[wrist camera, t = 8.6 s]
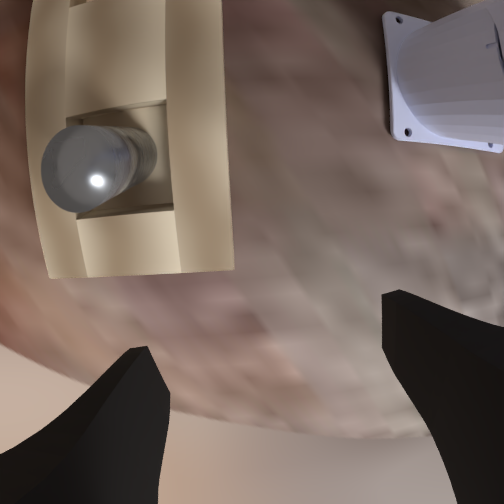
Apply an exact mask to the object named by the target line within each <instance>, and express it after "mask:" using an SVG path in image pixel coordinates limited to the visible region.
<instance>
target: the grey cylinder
mask: <svg viewBox="0 0 504 504" xmlns="http://www.w3.org/2000/svg"><path fill="white" fill-rule="evenodd" d="M156 163H157V148H156V145H155V142H154V140H153V139H152V137H151V136H150V135H149V134H148V133H147V132H145V131H144V130H142V129H139V128H135V127H120V126H93V125H75V126H70V127H67V128H65V129H63V130H61V131H59V132H58V133H57V134H56V135H55V136H54V137H53V138H52V139H51V140H50V142H49V143H48V145H47V147H46V148H45V151H44V153H43V157H42V162H41V178H42V183H43V186H44V189H45V191H46V193H47V195H48V196H49V198H50V199H51V200H52V201H53V202H54V203H55V204H56V205H57V206H58V207H60V208H61V209H63V210H65V211H68V212H73V213H82V212H86V211H89V210H91V209H93V208H95V207H97V206H99V205H101V204H102V203H104V202H106V201H108V200H109V199H111V198H113V197H115V196H117V195H119V194H120V193H122V192H124V191H126V190H128V189H130V188H132V187H133V186H135V185H137V184H139V183H141V182H143V181H144V180H146V179H147V178H148V177H149V176H150V175H151V173H152V172H153V170H154V168H155V166H156Z"/></svg>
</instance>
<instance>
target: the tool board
mask: <svg viewBox="0 0 504 504" xmlns="http://www.w3.org/2000/svg"><path fill="white" fill-rule="evenodd" d="M25 115H26V137H27V151H28V163H29V172H30V181H31V188H32V195H33V202H34V208H35V214H36V220H37V225H38V231H39V236H40V240H41V245H42V250H43V254H44V258H45V263H46V267H47V271H48V275H49V278H50V279H59V278H84V277H108V276H130V275H150V274H170V273H189V272H207V271H224V270H234V244H233V228H232V212H231V194H230V177H229V158H228V138H227V118H226V96H225V72H224V46H223V17H222V0H33V4H32V10H31V18H30V25H29V34H28V45H27V58H26V80H25ZM75 125H93V126H120V127H135V128H139V129H142V130H144V131H145V132H147V133H148V134H149V135H150V136H151V137H152V139H153V140H154V142H155V145H156V148H157V163H156V166H155V168H154V170H153V172H152V173H151V175H150V176H149V177H148V178H147V179H146V180H144V181H143V182H141V183H139V184H137V185H135V186H133V187H132V188H130V189H128V190H126V191H124V192H122V193H120V194H119V195H117V196H115V197H113V198H111V199H109V200H108V201H106V202H104V203H102V204H101V205H99V206H97V207H95V208H93V209H91V210H89V211H86V212H82V213H73V212H68V211H65V210H63V209H61V208H60V207H58V206H57V205H56V204H55V203H54V202H53V201H52V200H51V199H50V198H49V196H48V195H47V193H46V191H45V189H44V186H43V183H42V178H41V162H42V157H43V153H44V151H45V148H46V147H47V145H48V143H49V142H50V140H51V139H52V138H53V137H54V136H55V135H56V134H57V133H58V132H59V131H61V130H63V129H65V128H67V127H70V126H75Z"/></svg>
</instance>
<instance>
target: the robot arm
mask: <svg viewBox="0 0 504 504" xmlns="http://www.w3.org/2000/svg"><path fill="white" fill-rule="evenodd" d="M396 18H397V19H399V21H400V24H399V23H398V22H397V21H396ZM382 22H383V30H384V38H385V47H386V57H387V68H388V82H389V99H390V130H391V135H392V137H393V138H394V139H396V140H401V141H413V142H423V143H433V144H441V145H450V146H457V147H464V148H471V149H478V150H484V151H490V152H496V153H501V152H502V151H503V147H504V0H484V1H482V2H479V3H477V4H474V5H472V6H469V7H467V8H464V9H462V10H459V11H457V12H455V13H452V14H450V15H448V16H445V17H443V18H441V19H439V20H436V21H434V22H430V21H426V20H423V19H419V18H416V17H412V16H408V15H404V14H400V13H395V12H391V11H388V12H385V13H384V14H383V15H382ZM406 128H407V129H408V131H409V134H408V136H406V135H405V133H404V131H405V129H406ZM488 143H489V146H488ZM382 349H383V351H384V353H385V355H386V358H387V360H388V362H389V364H390V366H391V368H392V370H393V372H394V374H395V376H396V377H397V379H398V380H399V382H400V384H401V385H402V387H403V388H404V390H405V391H406V393H407V395H408V396H409V398H410V399H411V401H412V402H413V404H414V405H415V407H416V409H417V410H418V412H419V413H420V415H421V417H422V418H423V420H424V421H425V423H426V425H427V427H428V429H429V430H430V432H431V434H432V436H433V439H434V441H435V443H436V446H437V448H438V450H439V452H440V455H441V457H442V460H443V462H444V465H445V468H446V470H447V473H448V476H449V478H450V481H451V484H452V488H453V491H454V494H455V497H456V501H457V504H504V327H501V326H497V325H493V324H490V323H486V322H483V321H480V320H477V319H474V318H471V317H469V316H466V315H463V314H460V313H458V312H455V311H453V310H450V309H448V308H445V307H443V306H440V305H438V304H435V303H433V302H431V301H428V300H426V299H423V298H421V297H419V296H416V295H414V294H411V293H408V292H406V291H403V290H396V291H392V292H389V293H385V294H382ZM169 414H170V392H169V390H168V388H167V386H166V384H165V382H164V380H163V378H162V376H161V374H160V372H159V370H158V368H157V366H156V363H155V361H154V359H153V357H152V355H151V353H150V351H149V348H148V346H143V347H136V348H130V349H129V350H128V351H126V352H125V353H124V354H123V355H122V356H121V357H120V358H119V359H118V360H117V361H116V362H115V363H114V364H113V365H112V366H111V367H110V368H109V369H108V370H107V371H106V372H105V373H104V374H103V375H102V376H101V377H100V378H99V379H98V380H97V381H96V382H95V383H94V384H93V385H92V386H91V387H90V388H89V389H88V390H87V391H86V392H85V393H84V394H82V395H81V397H79V398H78V399H77V400H76V401H75V402H74V403H73V404H72V405H71V406H70V407H69V408H68V409H66V410H65V411H64V412H63V413H62V414H61V415H59V416H58V417H57V418H56V419H54V420H53V421H52V422H50V423H49V424H48V425H47V426H45V427H44V428H43V429H41V430H40V431H38V432H37V433H35V434H34V435H32V436H31V437H29V438H28V439H26V440H24V441H23V442H21V443H20V444H18V445H17V446H15V447H13V448H12V449H9V450H7V451H6V452H4V453H2V454H0V504H158V486H159V478H160V472H161V466H162V460H163V454H164V448H165V443H166V437H167V431H168V425H169V416H170V415H169Z"/></svg>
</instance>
